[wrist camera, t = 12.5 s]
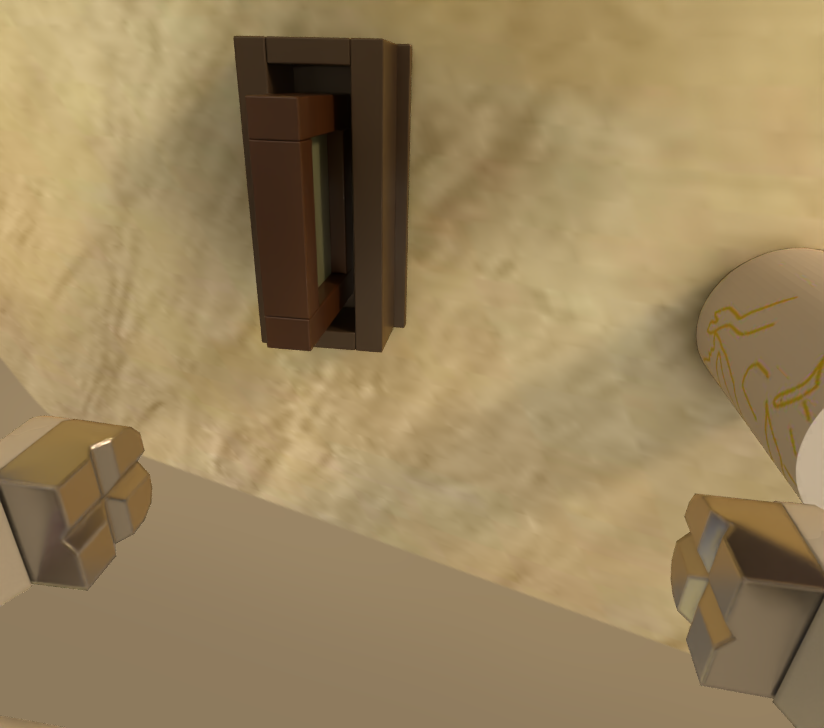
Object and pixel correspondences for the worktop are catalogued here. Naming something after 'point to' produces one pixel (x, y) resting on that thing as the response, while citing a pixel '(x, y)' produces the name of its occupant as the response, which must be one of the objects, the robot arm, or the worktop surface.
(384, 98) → the holder
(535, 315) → the worktop surface
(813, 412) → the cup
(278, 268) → the frame
